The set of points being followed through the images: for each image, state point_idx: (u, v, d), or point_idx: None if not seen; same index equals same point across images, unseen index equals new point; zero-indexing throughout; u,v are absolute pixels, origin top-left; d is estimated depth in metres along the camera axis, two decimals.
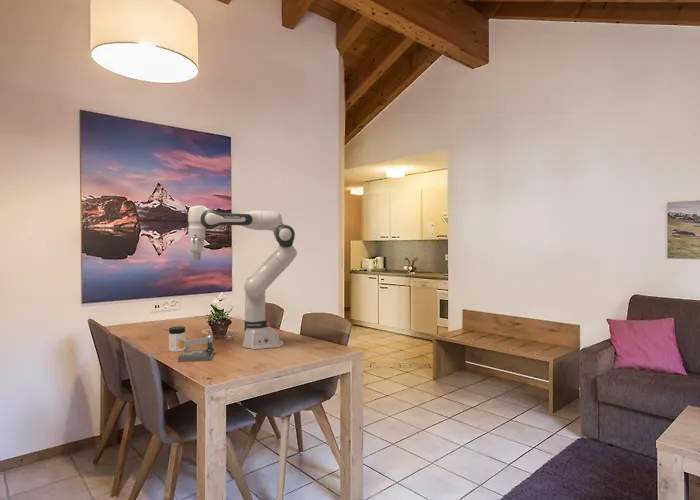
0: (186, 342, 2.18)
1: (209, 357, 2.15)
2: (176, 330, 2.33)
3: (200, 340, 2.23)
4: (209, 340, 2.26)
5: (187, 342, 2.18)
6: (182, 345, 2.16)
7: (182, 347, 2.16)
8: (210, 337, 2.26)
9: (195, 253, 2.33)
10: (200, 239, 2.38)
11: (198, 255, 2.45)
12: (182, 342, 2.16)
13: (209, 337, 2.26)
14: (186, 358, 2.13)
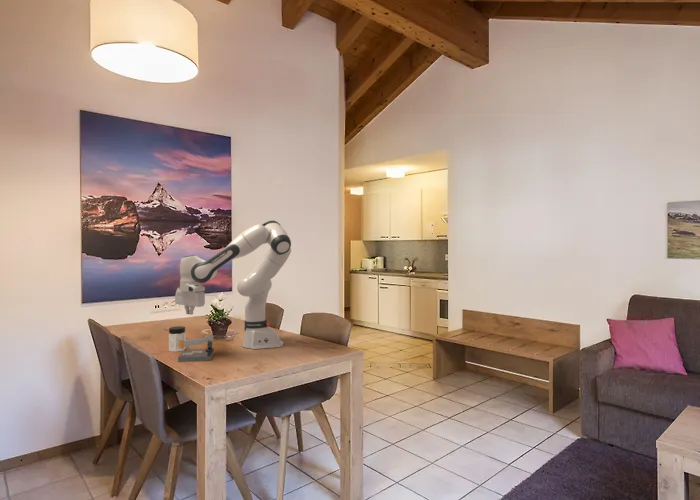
0: (186, 342, 2.18)
1: (209, 357, 2.15)
2: (176, 330, 2.33)
3: (200, 340, 2.23)
4: (209, 340, 2.26)
5: (187, 342, 2.18)
6: (182, 345, 2.16)
7: (182, 347, 2.16)
8: (210, 337, 2.26)
9: None
10: (182, 292, 2.24)
11: None
12: (182, 342, 2.16)
13: (209, 337, 2.26)
14: (186, 358, 2.13)
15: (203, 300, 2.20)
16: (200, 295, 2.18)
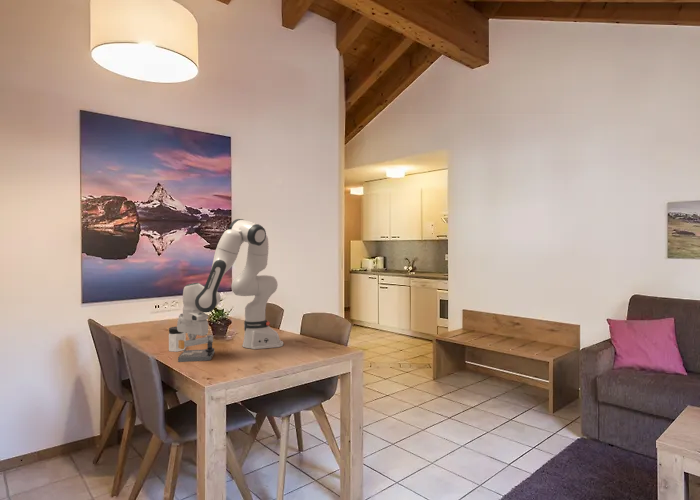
0: (186, 342, 2.18)
1: (209, 357, 2.15)
2: (176, 330, 2.33)
3: (200, 340, 2.23)
4: (209, 340, 2.26)
5: (188, 342, 2.18)
6: (182, 345, 2.16)
7: (182, 347, 2.16)
8: (210, 337, 2.26)
9: None
10: (185, 320, 2.22)
11: None
12: (182, 342, 2.16)
13: (209, 337, 2.26)
14: (186, 358, 2.13)
15: (207, 329, 2.18)
16: (203, 324, 2.17)
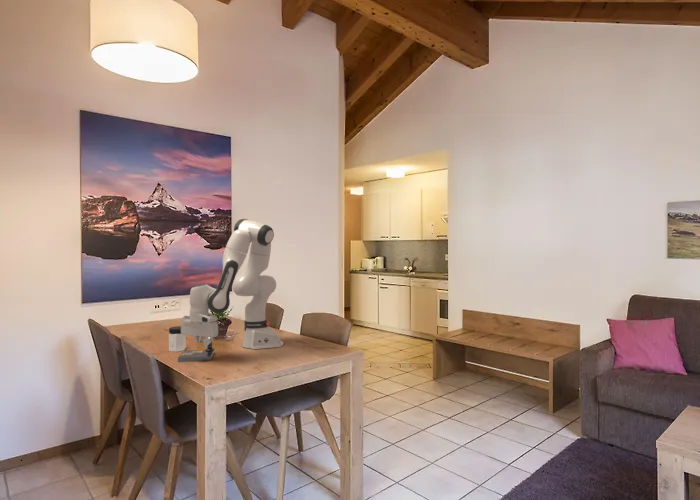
0: (203, 343, 2.15)
1: (209, 357, 2.15)
2: (176, 330, 2.33)
3: (208, 340, 2.22)
4: (211, 340, 2.27)
5: (204, 343, 2.15)
6: (203, 346, 2.12)
7: (203, 349, 2.12)
8: (212, 337, 2.27)
9: None
10: (192, 322, 2.16)
11: None
12: (203, 343, 2.12)
13: (211, 337, 2.27)
14: (186, 358, 2.13)
15: (217, 330, 2.15)
16: (214, 325, 2.13)
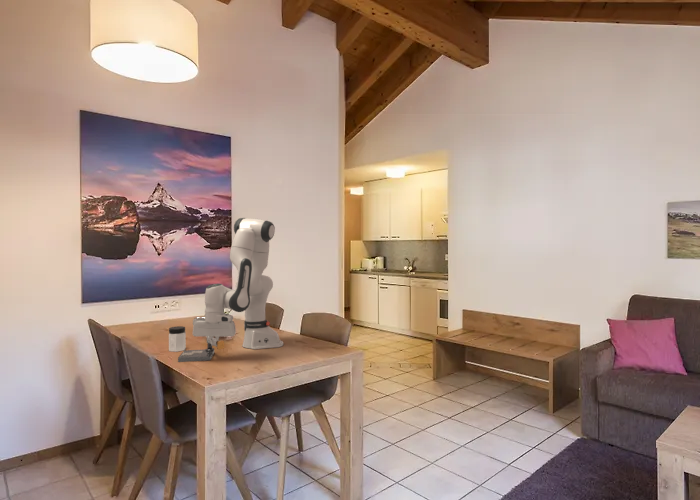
0: None
1: (209, 357, 2.15)
2: (176, 330, 2.33)
3: None
4: None
5: None
6: None
7: None
8: None
9: None
10: (208, 323, 2.13)
11: (216, 340, 2.16)
12: None
13: None
14: (186, 358, 2.13)
15: (235, 329, 2.17)
16: (233, 324, 2.15)
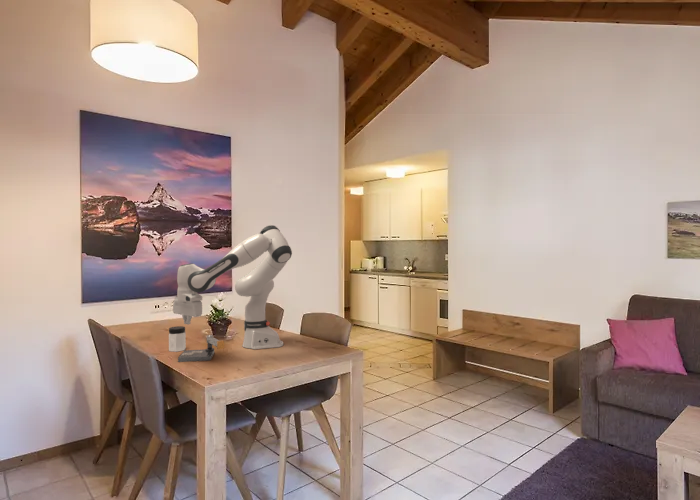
0: None
1: (209, 357, 2.15)
2: (176, 330, 2.33)
3: None
4: None
5: None
6: None
7: None
8: (212, 336, 2.28)
9: None
10: (180, 301, 2.18)
11: None
12: None
13: (212, 336, 2.28)
14: (186, 358, 2.13)
15: (201, 310, 2.14)
16: (197, 305, 2.12)
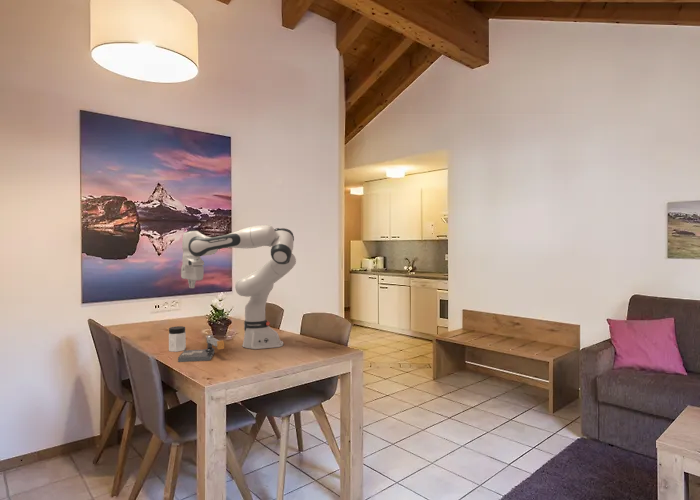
0: None
1: (209, 357, 2.15)
2: (176, 330, 2.33)
3: None
4: None
5: None
6: None
7: None
8: (212, 336, 2.28)
9: None
10: None
11: None
12: None
13: (212, 336, 2.28)
14: (186, 358, 2.13)
15: (202, 274, 2.24)
16: (198, 269, 2.23)
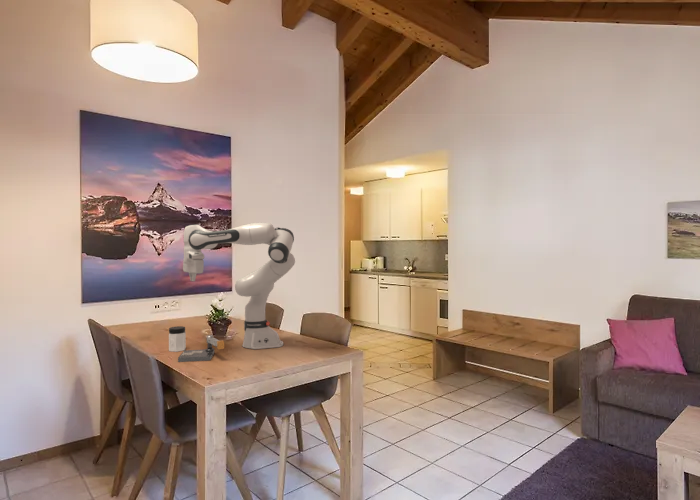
0: None
1: (209, 357, 2.15)
2: (176, 330, 2.33)
3: None
4: None
5: None
6: None
7: None
8: (212, 336, 2.28)
9: None
10: None
11: None
12: None
13: (212, 336, 2.28)
14: (186, 358, 2.13)
15: (202, 267, 2.27)
16: (198, 262, 2.26)
